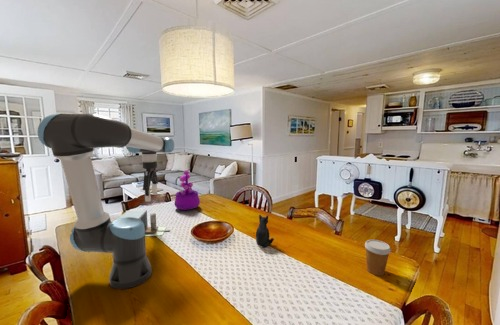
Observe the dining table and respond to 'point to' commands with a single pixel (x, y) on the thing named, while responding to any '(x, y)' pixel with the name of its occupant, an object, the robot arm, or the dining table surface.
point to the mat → (157, 232)
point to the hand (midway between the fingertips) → (151, 197)
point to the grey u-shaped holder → (153, 224)
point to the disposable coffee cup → (377, 256)
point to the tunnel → (140, 217)
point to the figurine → (263, 232)
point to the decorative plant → (186, 194)
